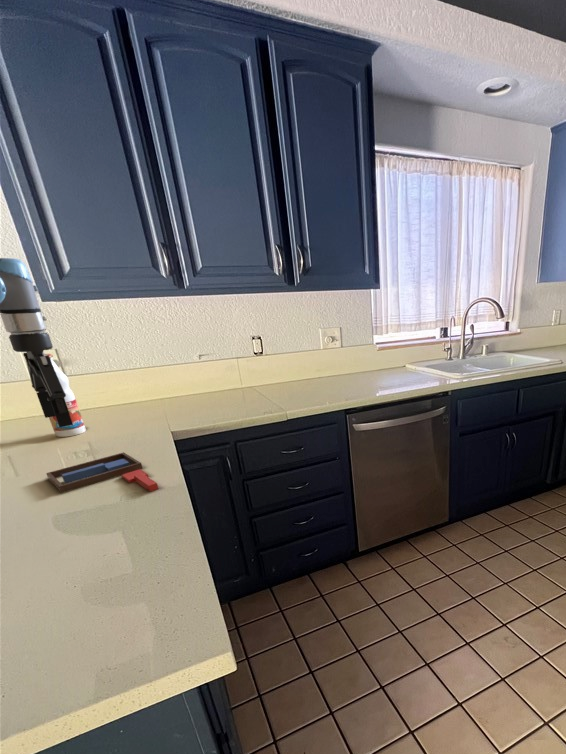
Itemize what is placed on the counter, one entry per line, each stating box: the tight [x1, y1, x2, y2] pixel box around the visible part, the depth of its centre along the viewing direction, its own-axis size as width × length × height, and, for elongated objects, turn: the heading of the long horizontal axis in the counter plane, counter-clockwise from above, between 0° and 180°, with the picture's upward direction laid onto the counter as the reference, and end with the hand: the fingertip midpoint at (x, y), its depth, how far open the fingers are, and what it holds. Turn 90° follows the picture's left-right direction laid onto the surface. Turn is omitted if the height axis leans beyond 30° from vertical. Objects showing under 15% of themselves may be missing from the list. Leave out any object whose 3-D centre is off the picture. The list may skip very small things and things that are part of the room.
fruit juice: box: [44, 353, 86, 438], centre depth 150 cm, size 9×9×28 cm
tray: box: [45, 452, 143, 494], centre depth 118 cm, size 20×14×2 cm
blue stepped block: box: [61, 459, 131, 484], centre depth 118 cm, size 16×5×2 cm, turn 138°
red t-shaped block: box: [121, 469, 159, 492], centre depth 112 cm, size 16×5×2 cm, turn 48°
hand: (58, 421), depth 108 cm, fingers open, 13 cm apart
